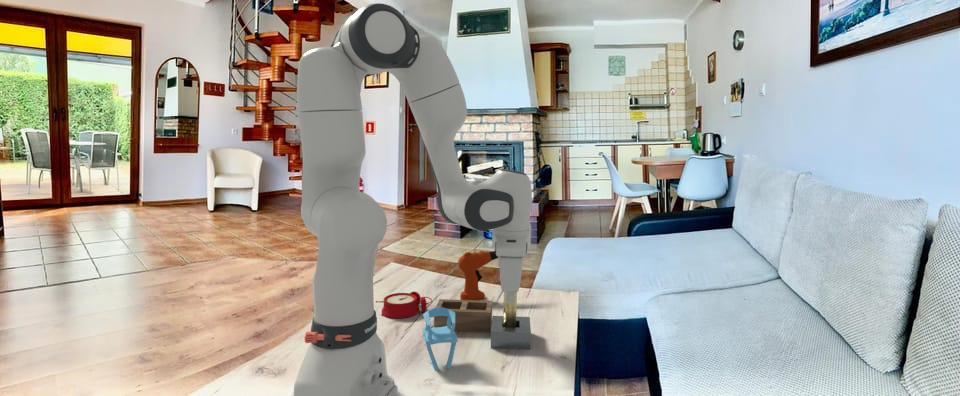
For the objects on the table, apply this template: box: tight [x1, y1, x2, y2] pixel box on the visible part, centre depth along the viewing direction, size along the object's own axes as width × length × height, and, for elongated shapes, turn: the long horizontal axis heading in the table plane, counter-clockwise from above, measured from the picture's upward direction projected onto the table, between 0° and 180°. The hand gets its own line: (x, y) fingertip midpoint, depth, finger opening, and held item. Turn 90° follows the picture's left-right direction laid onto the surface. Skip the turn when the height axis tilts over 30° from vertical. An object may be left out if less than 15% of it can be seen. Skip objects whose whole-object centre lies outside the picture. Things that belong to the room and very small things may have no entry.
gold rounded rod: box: [502, 292, 518, 327], centre depth 105 cm, size 3×3×10 cm
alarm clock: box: [375, 291, 433, 319], centre depth 126 cm, size 10×6×15 cm
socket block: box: [490, 315, 532, 351], centre depth 106 cm, size 9×9×5 cm
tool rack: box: [433, 298, 493, 333], centre depth 114 cm, size 8×14×6 cm, turn 85°
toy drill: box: [457, 250, 498, 301], centre depth 137 cm, size 5×19×15 cm, turn 115°
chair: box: [422, 306, 458, 371], centre depth 95 cm, size 8×8×12 cm
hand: (510, 298), depth 104 cm, fingers closed on gold rounded rod, 3 cm apart
